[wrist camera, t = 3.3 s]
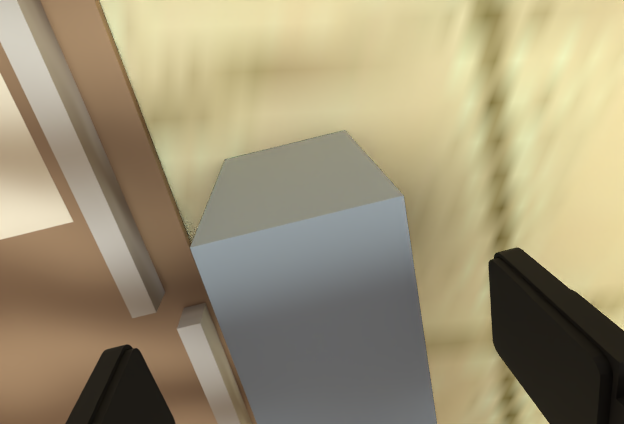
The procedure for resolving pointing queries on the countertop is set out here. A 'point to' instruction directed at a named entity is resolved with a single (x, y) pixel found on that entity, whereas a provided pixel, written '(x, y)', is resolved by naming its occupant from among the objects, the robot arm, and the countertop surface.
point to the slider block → (316, 286)
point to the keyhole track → (92, 231)
